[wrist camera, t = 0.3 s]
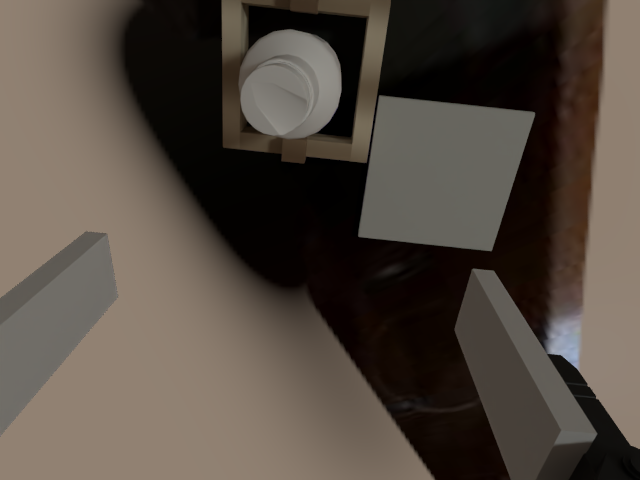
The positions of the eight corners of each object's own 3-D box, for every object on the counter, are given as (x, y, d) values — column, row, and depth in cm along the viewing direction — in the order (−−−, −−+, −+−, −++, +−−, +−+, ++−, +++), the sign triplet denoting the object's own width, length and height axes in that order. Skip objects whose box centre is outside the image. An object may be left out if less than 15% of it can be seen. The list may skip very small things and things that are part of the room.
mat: (379, 95, 37) (379, 96, 37) (532, 111, 37) (535, 113, 37) (357, 234, 43) (358, 236, 43) (489, 248, 43) (491, 251, 43)
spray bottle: (296, 14, 35) (256, -10, 18) (357, 69, 36) (370, 91, 20) (250, 81, 37) (180, 111, 21) (309, 129, 39) (287, 193, 23)
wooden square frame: (231, -21, 34) (216, -30, 30) (388, -4, 34) (394, -11, 30) (231, 142, 40) (218, 154, 36) (364, 157, 40) (367, 170, 36)
